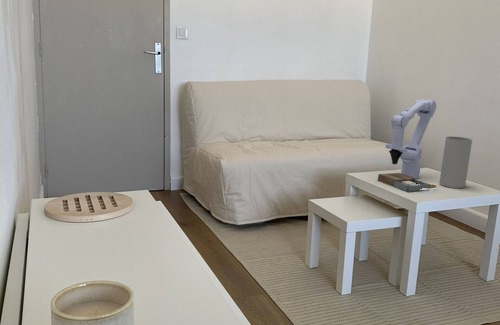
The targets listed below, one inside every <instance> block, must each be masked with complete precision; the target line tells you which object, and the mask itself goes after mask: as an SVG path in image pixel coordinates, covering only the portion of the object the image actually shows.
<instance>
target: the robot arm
mask: <svg viewBox="0 0 500 325" xmlns="http://www.w3.org/2000/svg"><path fill="white" fill-rule="evenodd" d="M436 109H437V103H436V100H434V99H433V100H431V99H422V98H417V99H416V100H415V102H414V104H413V105H412V106H411V107H410V108H405V109H404V110H403V111H402V112H400V113H399V114H398V115H397V114H395V115H393V117H392V118H391V120H390V122H391V129H392V134H391V143H390V144H389V143H388V144H387V143H386V144H385V149H389V151H388V152H389V154H390V158H391V164H392V165H397V164H398V162H399V161H400V159H401V161H402V164H401V171H400V173H401V174H404V175H407V176H410V177H413V178H415V179H416V180H418V179H421V177H420V172H421V164H420V162H419V161H420V160H421V159H422V158H421V157H422V152H423V150H422V148H421V147H420V144H421V142H422V140H423V137H424V135H425V132H426V130H427V128H428V125H429V123H430V120H431V118H433V117H434V115H435V112H436ZM415 114H417V116H418V117H419V120H418V121H417V124H416V127H415V129H414V132H413V134H412V136H411V138H410V141H409V143H407V144H405V145H403V143H404V136H405V135H404V134H405V128H406V127H407V126H408V123H410V121H411V120H412V119H413V118H414V117H415Z"/></svg>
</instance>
